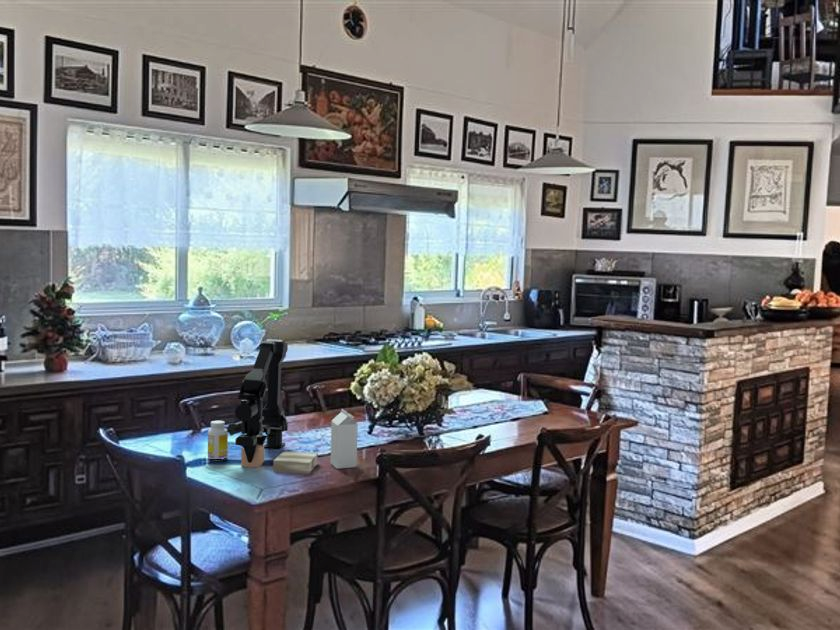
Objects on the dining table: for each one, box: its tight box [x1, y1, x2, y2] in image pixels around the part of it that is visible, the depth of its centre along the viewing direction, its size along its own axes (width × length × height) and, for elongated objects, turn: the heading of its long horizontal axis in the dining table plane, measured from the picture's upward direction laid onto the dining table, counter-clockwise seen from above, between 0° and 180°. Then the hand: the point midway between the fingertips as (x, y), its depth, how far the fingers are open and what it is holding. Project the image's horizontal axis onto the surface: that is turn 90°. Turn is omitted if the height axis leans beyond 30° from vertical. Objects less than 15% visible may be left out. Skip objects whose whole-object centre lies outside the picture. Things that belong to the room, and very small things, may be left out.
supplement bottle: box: [207, 420, 229, 460], centre depth 281 cm, size 7×7×13 cm
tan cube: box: [240, 444, 265, 468], centre depth 275 cm, size 6×6×6 cm
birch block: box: [272, 450, 319, 475], centre depth 274 cm, size 12×12×4 cm
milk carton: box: [330, 408, 359, 469], centre depth 277 cm, size 7×7×19 cm
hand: (252, 459), depth 275 cm, fingers closed on tan cube, 6 cm apart
